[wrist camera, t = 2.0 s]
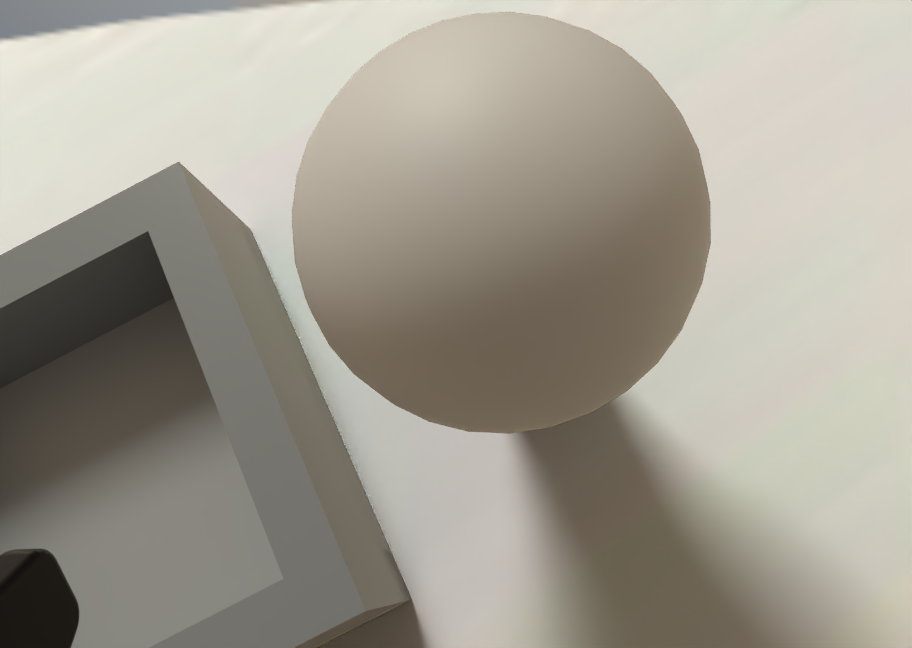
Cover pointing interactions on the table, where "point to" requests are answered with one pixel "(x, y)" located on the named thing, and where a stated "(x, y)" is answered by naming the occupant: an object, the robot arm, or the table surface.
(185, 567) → the socket
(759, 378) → the table surface
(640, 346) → the lightbulb
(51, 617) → the robot arm
